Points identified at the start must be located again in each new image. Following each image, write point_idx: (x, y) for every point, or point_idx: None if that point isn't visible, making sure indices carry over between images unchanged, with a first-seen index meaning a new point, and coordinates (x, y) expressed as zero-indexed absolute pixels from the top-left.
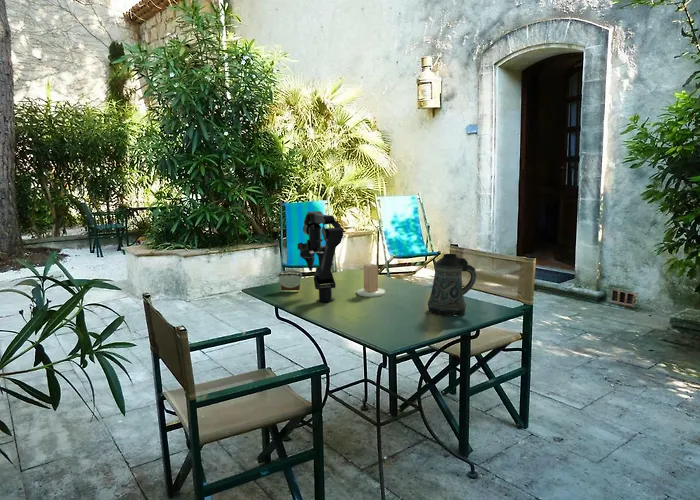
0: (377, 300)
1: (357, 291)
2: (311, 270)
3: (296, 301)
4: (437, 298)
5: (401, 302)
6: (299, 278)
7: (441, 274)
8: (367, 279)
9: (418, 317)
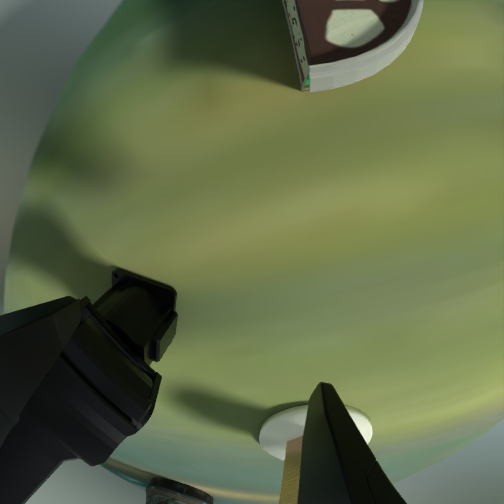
0: (219, 444)
1: (304, 415)
2: (73, 320)
3: (91, 166)
4: (146, 501)
5: (217, 470)
6: (306, 67)
7: None
8: (293, 481)
9: (125, 460)
